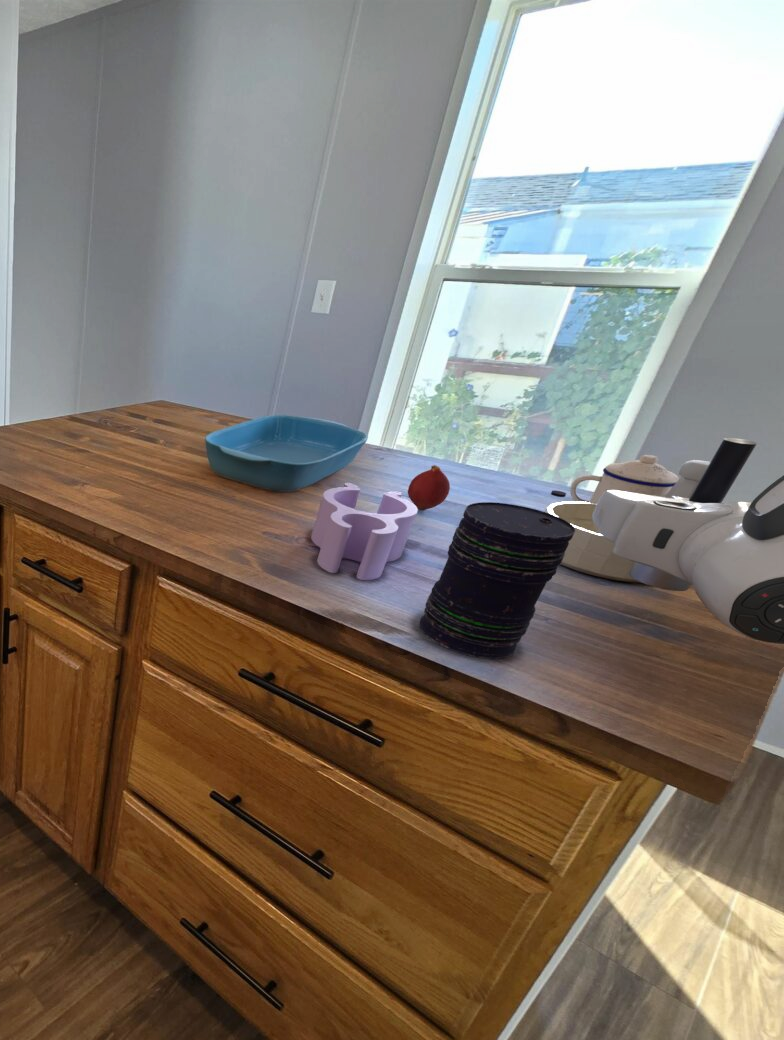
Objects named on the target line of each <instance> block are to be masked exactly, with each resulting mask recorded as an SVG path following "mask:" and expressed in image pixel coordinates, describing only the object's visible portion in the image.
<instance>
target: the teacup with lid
mask: <svg viewBox="0 0 784 1040" xmlns="http://www.w3.org/2000/svg"><path fill="white" fill-rule="evenodd" d="M658 461H659V458H658V456H655V455H652V454H643V455H641V456H640V457H639V459H632V460H627V461H625V462H614V463H613V462H612V463H609V464H608V465H606V466H605V467H604V468H603V469H602V472H603V473H602V475H601V476H600V475H594V474H585V475H581V476H578V477H577V478H576V479H575V480H573V482H572V483H571V486H570V489H569V492H570V497H571V499H572V500H573V502H588V503H598V501H599V499H600V497H601V496H602V494H603V493H604V492H605V491H608V490H619V491H625V492H631V493H638V494H645V495H651V496H658V497H665V495H666V494H667V493H668V492H669V491H670V490H671V488H672V487H673V486H674V485H675V484H676V483H677V481H678V480H679V479H680V478H679V475H677V474H675V473H674V472H671V471H669V470H667V468H665V466H663V465H662V464H659V463H658ZM584 481H595V482H598V484H596V487H595V489H594V491H593V493H592V495H591V497H590V499H589V500H585V499H583V498H580V497H579V496H578V494H577V492H576V491H577V487H578V485H580V484H581V483H582V482H584Z"/></svg>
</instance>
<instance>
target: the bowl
mask: <svg viewBox="0 0 784 1040" xmlns="http://www.w3.org/2000/svg"><path fill="white" fill-rule="evenodd" d="M596 505H597V503H588V502H575V501H561V502H560V501H559V502H554V503H550V504H549V505H548V506H547V507H546V508H545V511H544V512H546V513H549V514H552V515H554V516H557V517H559V518H561V519H563V520H565V521H567V522H569V523H570V524H571V525H573V526H574V528H575V530H576V531H575V533H574V535H573V537H572V539H571V540H570V541H568V542H569V545H568V547H567V549H566V551H565V556H564V557H563V560H562V562H561V563H560V565H561V566H564V567H567V568H569V569H572V570H574V571H577V572H580V573H584V574H587V575H591V576H595V577H598V578H604V579H607V580H608V579H609V580H613V581H619V582H627V583H640V582H639V581H637V580H635V579H634V578H632V577H631V576H630V574H629V572H630V570H631V569H632V567H633V565H634V563H635V562H634V561H631V560H628V559H625V558H621V557H619V556H617V555H615V554H614V553H613V548H614V545H615V543H613V542H611V541H609V540H607V539H606V538H605V537H603V536H602V534H601V533H600V532H599V530H598V529H597V527H596V526H595V524H594V522H593V519H592V515H593V512H594V509H595V507H596Z"/></svg>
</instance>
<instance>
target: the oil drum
mask: <svg viewBox="0 0 784 1040" xmlns="http://www.w3.org/2000/svg"><path fill="white" fill-rule="evenodd" d="M550 495H552V496H553V497H557V498H565V497H566V496H567V492H564V491H561V490H552V491H551V492H550ZM462 516H463V517H462V518H461V519H460V522H459V525H458V526H457V527H456V529H455V531H454V533H453V536H452V540H451V542H450V544H449V545H448V550H447V555H448V557H447V559H446V562H445V564H444V567H443V569H442V572H441V574H440V577H439V579H438V580H436V581H435V583H434V584H433V586H432V588H431V592H430V594H429V595H428V598H427V599H426V602H425V608H424V610H423V615H422V616H421V617H420V620H419V622H418V627H419V629H420V631H421V632H422V633H423V634H424V635H425V636H426V638H428V639H429V640H431V641H432V642H434V643H435V644H437V645H439V646H441V647H444V648H445V649H448V650H450V651H453V652H456V653H459V654H461V655H465V656H469V657H474V658H480V659H488V660H496V659H497V660H498V659H501V660H502V659H505V658H509V657H511V656H512V655H514V654H515V652H516V650H517V647H518V643H520V641H521V640H522V638H523V636H524V635H526V633H527V631H528V629H529V627H530V625H531V621H532V619H534V617H535V613H536V604H537V602H538V600H539V598H540V597H541V594H542V592H543V590H544V588H545V586H546V584H547V583H548V582H550V581H551V580H552V579H553V577H554V576H555V575H557V574H556V573H557V569H558V567H559V566H560V565H561V564H560V563H561V562H562V560H563V557H564V556H565V551H566V549H567V547H568V545H569V542H568V541H570V540H571V539H572V537H573V535H574V533H575V531H576V530H575V528H574V526H573V525H571V524H570V523H569V522H567V521H565V520H563V519H561V518H559V517H557V516H554V515H552V514H549V513H546V512H545V511H543V510H540V509H536V508H532V507H527V506H523V505H518V504H512V503H506V502H505V503H504V502H491V501H489V502H488V501H483V502H475V503H470V504H468V505H467V506H466V507H465V510H464V512H463V515H462Z"/></svg>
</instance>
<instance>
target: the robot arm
mask: <svg viewBox="0 0 784 1040" xmlns="http://www.w3.org/2000/svg"><path fill="white" fill-rule="evenodd" d="M592 519H593V522H594V524H595V526H596V527H597V529H598V530H599V532H600V533H601V534H602V536H603V537H605V538H606V539H607V540H609V541H611V542H613V543H615V545H614V548H613V553H614V554H615V555H617V556H619V557H621V558H625V559H628V560H631V561H634V562H637V563H641V564H644V565H647V566H650V567H653V568H657V569H660V570H662V571H665V572H667V573H669V574H671V575H673V576H676V577H678V578H680V579H682V580H685V581H689V583H690V584H692V585H691V586H692V587H693V589H694V592H695V594H696V595H697V597H698V598H699V599H700V601H701V602H702V604H703V605H704V606H705V608H707V610H708V611H709V612H710V613H711V615H713V616H714V617H715V618H716V619H717V620H718V621H719V623H721V624H723V625H724V626H725V627H727V628H728V629H730V630H731V631H733V632H735V633H737V634H739V635H741V636H744V637H746V638H748V639H750V640H755V641H759V642H761V643H766V644H767V643H768V644H774V645H784V475H782V476H781V477H779V478H778V479H776V480H775V481H773V483H771V484H770V485H768V486H767V487H766V488H765V489H764V490H763V491H761V492H760V493H759V494H758V495H757V496H755V498H754V499H753V500H752V501H751V502H748V501H737V502H736V501H735V502H726V503H723V502H722V503H698V502H692V501H691V500H689V498H683V497H676V496H672V497H671V498H665V497H658V496H651V495H645V494H638V493H631V492H625V491H619V490H608V491H605V492H604V493H603V494H602V496H601V497H600V499H599V501H598V503H597V505H596V507H595V509H594V512H593V515H592Z"/></svg>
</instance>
